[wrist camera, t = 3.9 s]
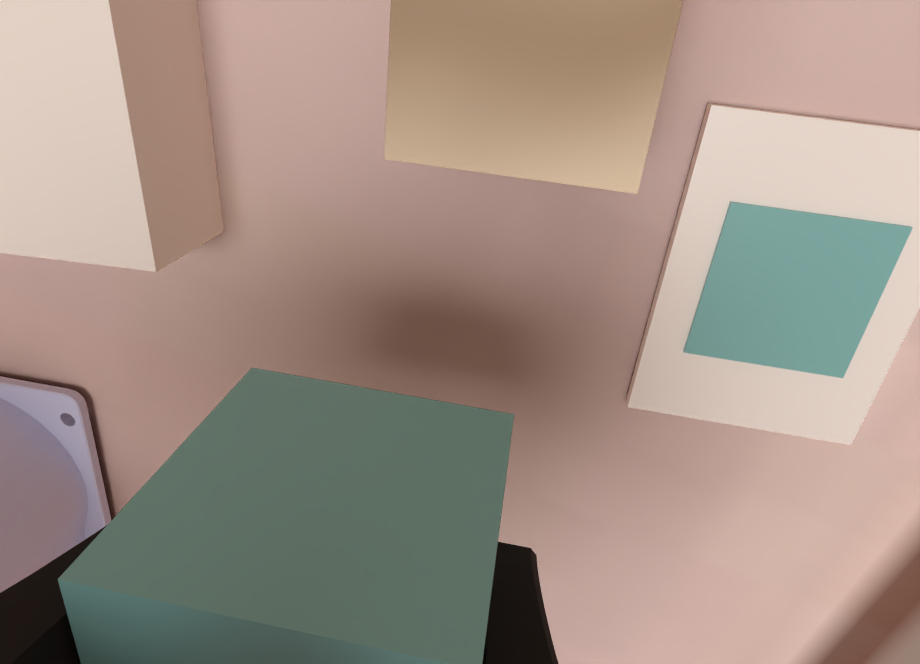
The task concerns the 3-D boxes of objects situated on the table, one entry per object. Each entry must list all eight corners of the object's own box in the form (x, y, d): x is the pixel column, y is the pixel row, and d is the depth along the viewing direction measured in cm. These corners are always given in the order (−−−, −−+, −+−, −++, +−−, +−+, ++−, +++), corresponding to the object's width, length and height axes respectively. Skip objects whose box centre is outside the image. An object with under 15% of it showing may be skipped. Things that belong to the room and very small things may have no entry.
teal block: (480, 601, 12) (438, 884, 8) (262, 556, 12) (120, 805, 8) (513, 414, 10) (481, 670, 6) (251, 367, 10) (57, 579, 6)
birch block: (617, 148, 14) (637, 193, 11) (431, 123, 15) (384, 159, 11) (665, -77, 12) (713, -127, 8) (448, -99, 13) (398, -155, 9)
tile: (844, 436, 17) (852, 447, 16) (626, 399, 17) (627, 409, 17) (990, 138, 13) (1005, 142, 13) (707, 102, 14) (712, 105, 13)
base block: (229, 228, 17) (156, 271, 14) (-26, 199, 18) (-148, 234, 15) (190, -119, 14) (79, -162, 10) (-127, -134, 14) (-316, -179, 11)
